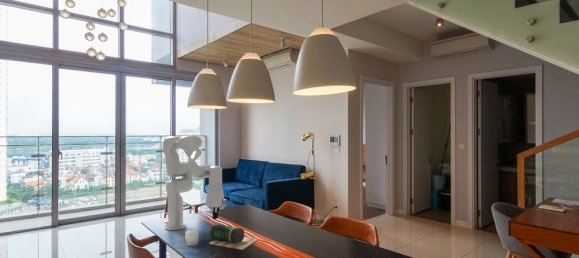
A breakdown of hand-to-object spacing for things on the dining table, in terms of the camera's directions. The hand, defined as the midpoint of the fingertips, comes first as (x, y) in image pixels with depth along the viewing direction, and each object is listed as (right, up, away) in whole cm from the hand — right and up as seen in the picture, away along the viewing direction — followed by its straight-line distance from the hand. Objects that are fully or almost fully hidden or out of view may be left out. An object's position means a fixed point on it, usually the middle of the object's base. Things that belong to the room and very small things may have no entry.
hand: (215, 218), depth 180 cm
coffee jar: (0, -8, 0) cm, 8 cm away
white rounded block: (-12, -12, -7) cm, 18 cm away
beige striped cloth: (+12, -12, -5) cm, 17 cm away
